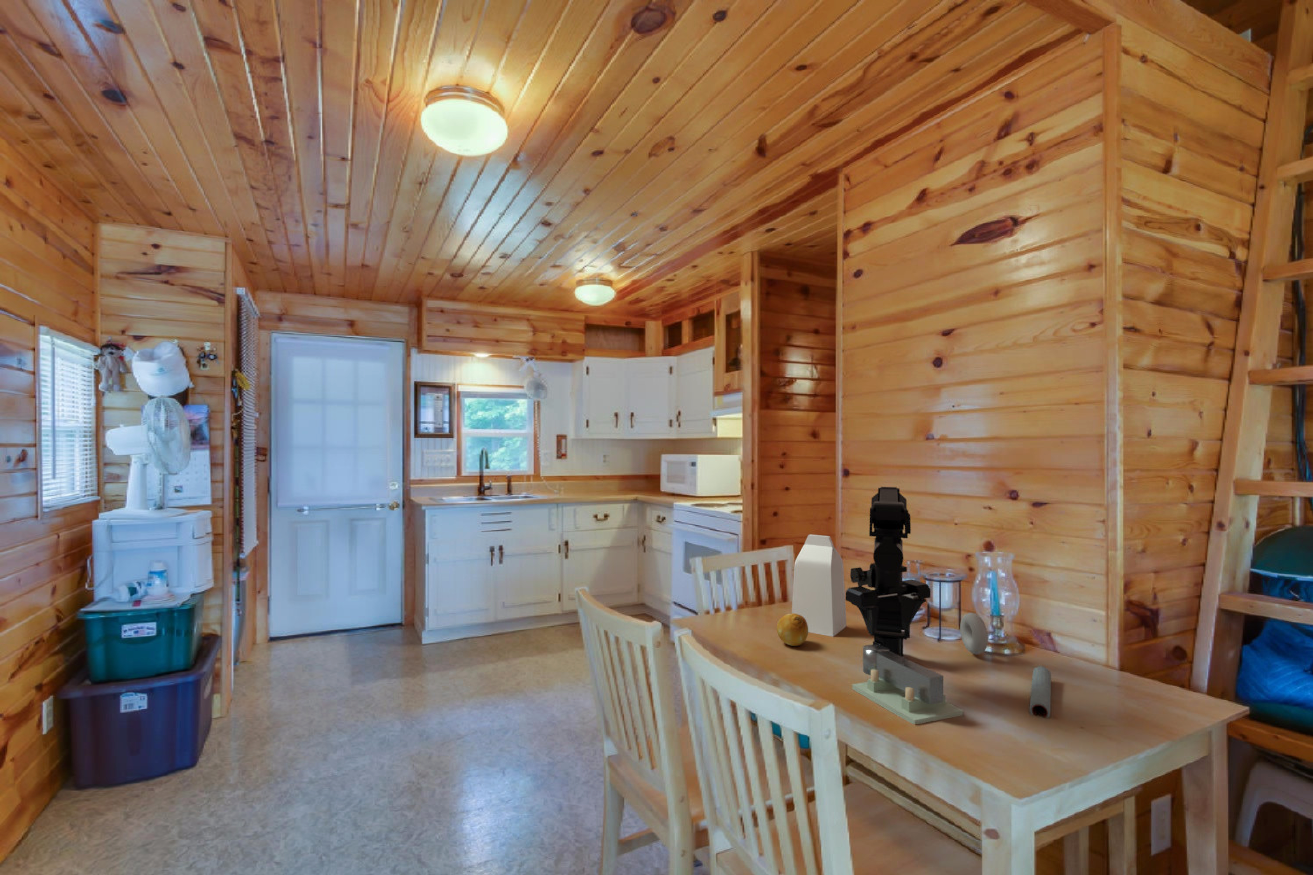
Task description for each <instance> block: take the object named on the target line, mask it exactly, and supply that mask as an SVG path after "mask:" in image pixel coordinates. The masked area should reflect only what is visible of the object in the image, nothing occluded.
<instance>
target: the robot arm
mask: <svg viewBox="0 0 1313 875" xmlns="http://www.w3.org/2000/svg"><path fill="white" fill-rule="evenodd" d="M900 492H901V491H900V487H897V486H880V487H878V489H877V493H876V494H874V495H873V496H872V497H871V502H870V504H871V506H870V507H869V530H868V532H869V537H873V538H874V542H873V543H874V546H873V555H872V556H873V563H870V565H869V570H868V569H867V570H863V568H862V567H860V566H859V567H853V568H850V574H849V577H850V581H851V582H852V583H853V584H854V583H857V586H853V587H848V588H847V589H846V590H845V602H846V601H847V602H849V603H850V604H851V605H853V606H856V608H858V610H859V612H860V613H861V617H862V618H863V621H864V625H865V627H866V629H867V632H868V634H869V635H870V637H873V641H872V645H880V646H884V647H886V648H888V649H889V651H890V652H892V653H895V654H897V655H899V656H901V657H903V658H904V640H908V639H910V638H911V637H910V636H911V623H912V622H913V620H914V618H915V617H916V615H917V613H918V612H919V610H920V608H921V607H922V605H923V604H924V603H926V602H927V599H930V598H931V588H930V586H929V585H928V583H925V582H922V581H919V580H915V579H906V580H903V573H906V572H908V571H907V570H908V567H907V566H904V565H903V563H904V552H903V546H904V545H903V539H908V538H909V537H908V536H909V535H911V532H912V529H911V525H912V524H911V514H910V512H909V510H908V507H907V506H908V504H907V502H908V500H907V498H906V497H905V496H904V495H902V494H901V493H900ZM866 585H867V587H868V588H867V587H865V586H866ZM872 588H873V589H872Z"/></svg>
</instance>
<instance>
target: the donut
mask: <svg viewBox="0 0 1313 875" xmlns="http://www.w3.org/2000/svg"><path fill="white" fill-rule="evenodd" d="M959 628H960V631H959V632H960V636H961V640H962V643H963V646H965V649H966V650H967V651H968V652H969V653H972V654H973V655H981V654H983V653H984V652H985V650H987V647H988V642H989V639H988V638H989V637H988V631H987V629H988V628H987V627H986V623H985V622H984V620H983V618H982V617H981V616H979V615H978V613H975V612H967V613H965V614H964V615H963V616H962V618H961V619H960V627H959Z"/></svg>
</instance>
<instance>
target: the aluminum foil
mask: <svg viewBox="0 0 1313 875" xmlns="http://www.w3.org/2000/svg"><path fill="white" fill-rule="evenodd" d="M1051 674H1052V673H1051V672H1050V670H1049V668H1046V667H1044V666H1042V665H1041V666H1040V665H1039V666H1036V667H1035V668H1034V669H1033V671H1032V678H1031V680H1032V681H1031V691H1030V699H1029V701H1030V702H1029V709H1028V710H1029V713H1030V715H1031V716H1034V717H1036V716H1037V712H1038V707H1039V706H1040V707H1042V711H1043V712H1042V713H1043V718H1046V719H1048V718H1050V716H1051V696H1052V694H1051V692H1052V690H1051V689H1052V686H1051V685H1052V675H1051Z"/></svg>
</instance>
